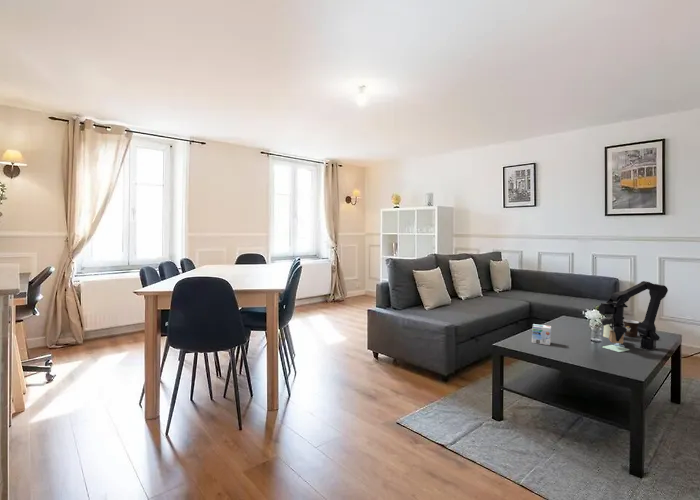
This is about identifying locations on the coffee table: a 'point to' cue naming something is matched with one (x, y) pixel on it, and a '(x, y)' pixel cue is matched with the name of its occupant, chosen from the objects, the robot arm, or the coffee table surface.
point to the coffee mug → (631, 328)
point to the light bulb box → (541, 334)
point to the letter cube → (613, 337)
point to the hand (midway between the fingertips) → (616, 339)
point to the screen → (619, 345)
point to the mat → (615, 348)
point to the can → (607, 331)
